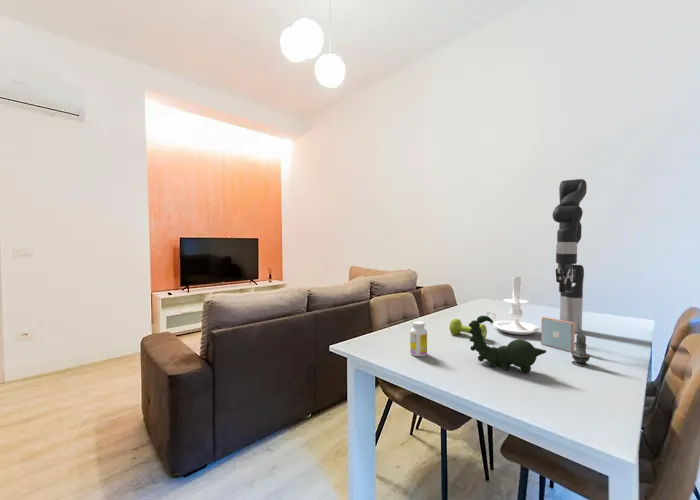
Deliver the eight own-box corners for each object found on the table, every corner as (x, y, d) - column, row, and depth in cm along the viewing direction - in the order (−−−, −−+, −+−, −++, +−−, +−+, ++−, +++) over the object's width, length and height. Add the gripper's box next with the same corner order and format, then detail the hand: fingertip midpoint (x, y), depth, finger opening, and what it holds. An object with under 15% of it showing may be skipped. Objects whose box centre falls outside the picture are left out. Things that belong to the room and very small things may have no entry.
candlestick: (491, 323, 176) (492, 272, 175) (543, 331, 160) (545, 275, 159) (478, 331, 161) (479, 275, 160) (534, 341, 145) (535, 279, 144)
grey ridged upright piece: (593, 367, 116) (594, 334, 115) (575, 366, 117) (576, 333, 116) (585, 361, 122) (586, 330, 121) (567, 360, 123) (568, 329, 122)
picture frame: (543, 343, 142) (543, 316, 142) (574, 351, 132) (575, 322, 132) (540, 344, 141) (541, 317, 140) (571, 352, 131) (572, 323, 131)
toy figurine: (468, 367, 120) (545, 381, 104) (464, 317, 120) (540, 322, 104) (477, 360, 127) (550, 371, 111) (473, 312, 128) (546, 316, 111)
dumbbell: (447, 334, 156) (447, 320, 155) (456, 331, 161) (456, 317, 161) (480, 343, 143) (480, 327, 143) (488, 339, 149) (488, 323, 148)
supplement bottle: (427, 352, 132) (428, 321, 131) (426, 358, 125) (426, 325, 125) (411, 350, 134) (411, 319, 133) (408, 356, 128) (409, 323, 127)
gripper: (564, 251, 146) (563, 288, 147) (549, 252, 138) (548, 291, 139) (583, 252, 140) (582, 291, 140) (568, 253, 132) (567, 294, 132)
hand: (565, 291), depth 139 cm, fingers open, 5 cm apart
